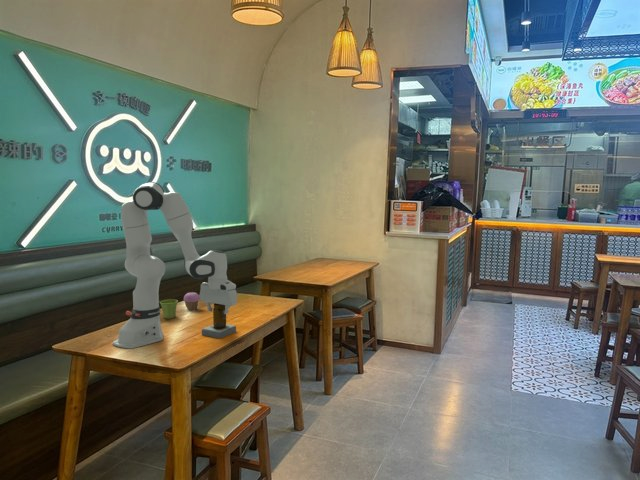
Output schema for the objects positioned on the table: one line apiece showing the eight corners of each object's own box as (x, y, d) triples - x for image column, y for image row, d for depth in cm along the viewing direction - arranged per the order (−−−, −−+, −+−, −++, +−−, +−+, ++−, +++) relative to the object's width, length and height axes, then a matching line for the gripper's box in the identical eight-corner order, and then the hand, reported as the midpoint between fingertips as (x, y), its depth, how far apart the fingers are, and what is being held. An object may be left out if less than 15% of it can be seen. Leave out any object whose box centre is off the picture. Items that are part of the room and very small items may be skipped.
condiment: (223, 323, 228) (222, 299, 227) (231, 327, 222) (231, 303, 220) (209, 326, 223) (208, 302, 222) (217, 330, 217) (217, 305, 216)
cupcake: (202, 308, 268) (202, 291, 267) (191, 312, 261) (190, 294, 260) (192, 306, 273) (191, 290, 272) (180, 309, 266) (180, 292, 265)
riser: (219, 338, 215) (219, 332, 215) (201, 334, 220) (201, 328, 220) (236, 331, 226) (236, 325, 226) (218, 328, 231) (218, 322, 231)
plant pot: (157, 319, 246) (157, 303, 245) (163, 314, 255) (162, 299, 254) (175, 319, 246) (175, 303, 245) (180, 314, 256) (180, 299, 255)
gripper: (196, 282, 223) (196, 311, 224) (230, 287, 213) (230, 316, 215) (205, 280, 228) (205, 308, 230) (238, 285, 219) (239, 313, 220)
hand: (217, 312), depth 222 cm, fingers open, 8 cm apart
